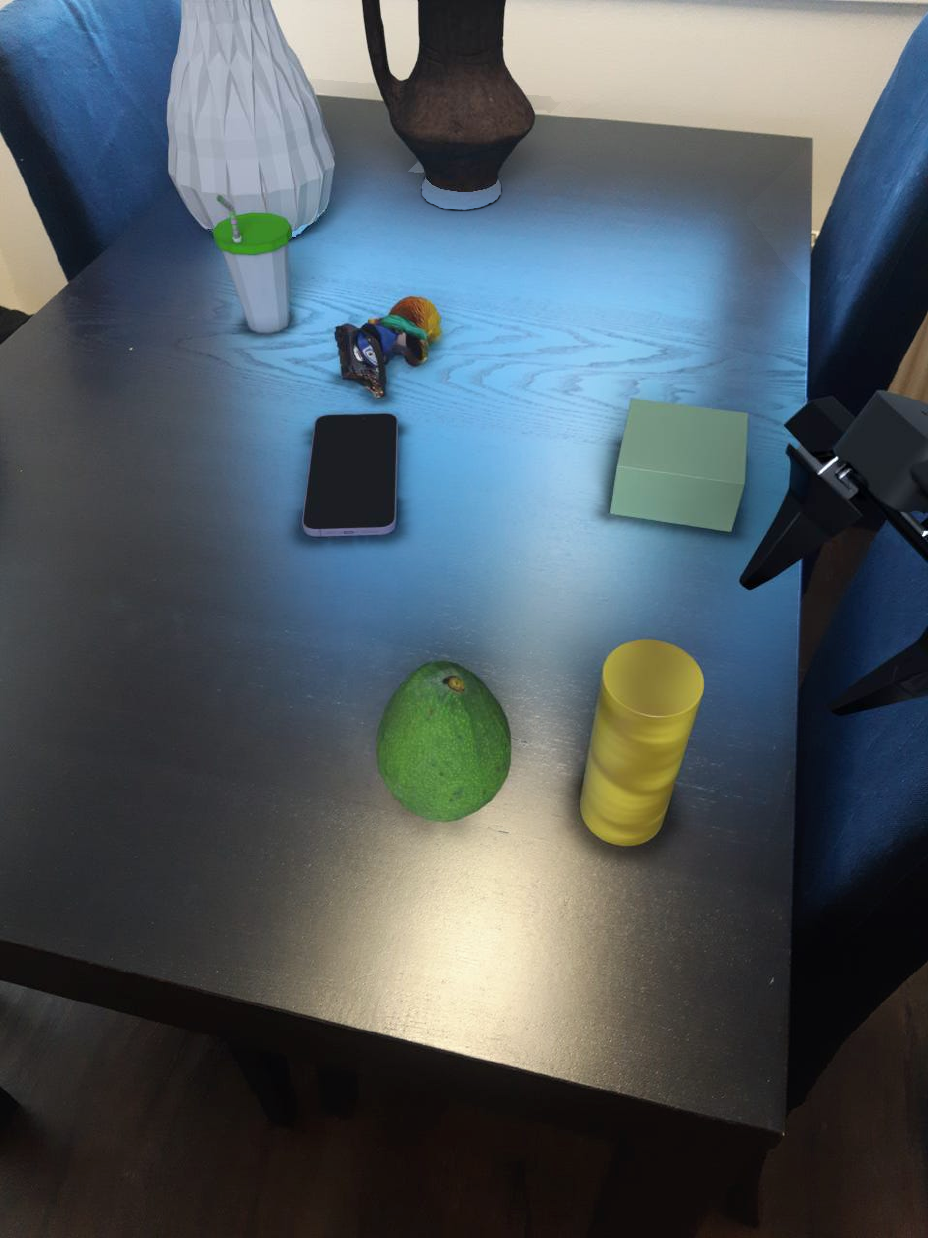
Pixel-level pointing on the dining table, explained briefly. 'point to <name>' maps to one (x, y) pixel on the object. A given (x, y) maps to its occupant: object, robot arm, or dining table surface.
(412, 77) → the jug
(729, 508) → the green block
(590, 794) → the yellow tumbler
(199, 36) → the vase
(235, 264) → the cup
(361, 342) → the figurine
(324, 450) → the smartphone
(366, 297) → the dining table surface
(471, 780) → the fruit
